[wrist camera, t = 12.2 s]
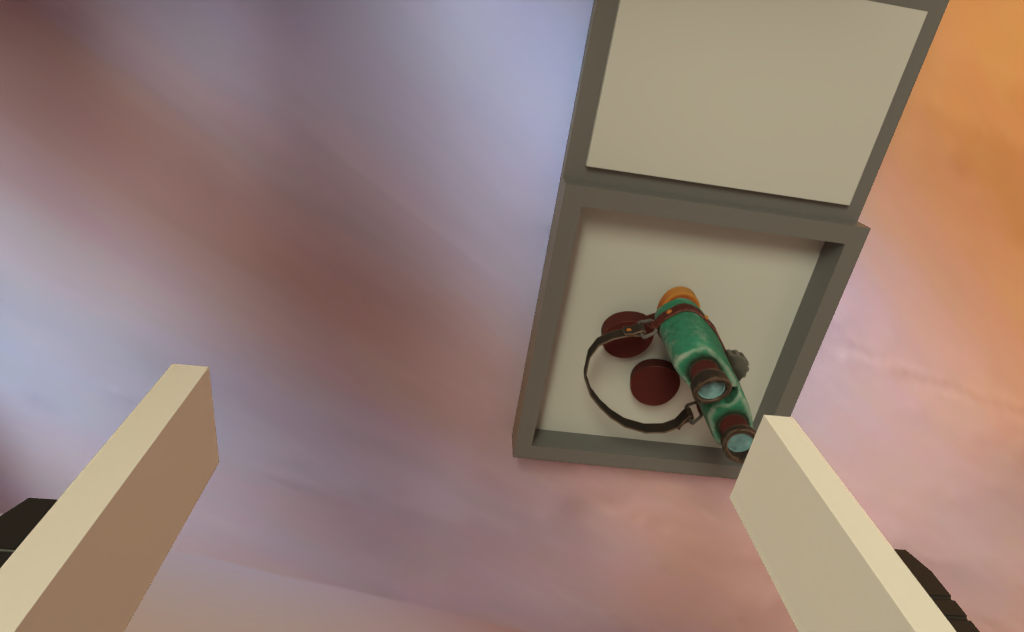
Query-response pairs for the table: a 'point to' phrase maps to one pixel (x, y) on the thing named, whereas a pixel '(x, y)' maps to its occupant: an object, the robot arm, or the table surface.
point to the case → (711, 204)
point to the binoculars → (681, 370)
